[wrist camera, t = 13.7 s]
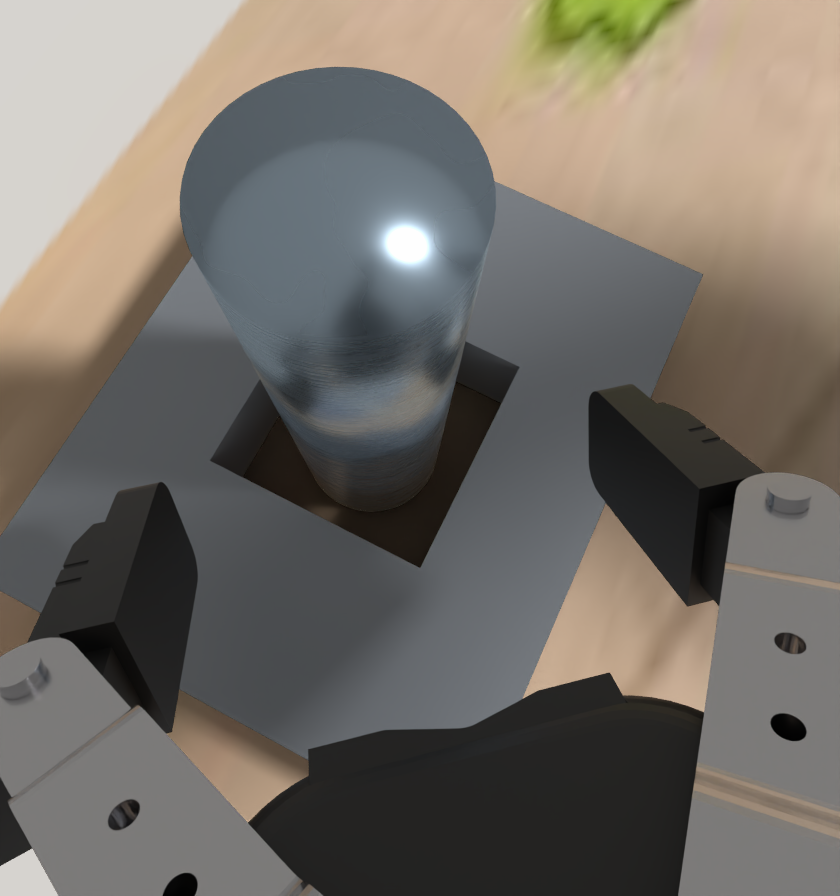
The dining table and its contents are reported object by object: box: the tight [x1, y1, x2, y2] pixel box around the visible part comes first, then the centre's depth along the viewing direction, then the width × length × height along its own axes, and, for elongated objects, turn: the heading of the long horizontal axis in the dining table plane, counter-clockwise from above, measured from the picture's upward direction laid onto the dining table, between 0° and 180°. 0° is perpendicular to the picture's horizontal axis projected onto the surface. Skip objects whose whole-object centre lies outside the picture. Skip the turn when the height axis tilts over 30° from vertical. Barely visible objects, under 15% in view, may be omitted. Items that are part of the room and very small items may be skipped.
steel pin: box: [180, 67, 496, 512], centre depth 14 cm, size 4×4×12 cm
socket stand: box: [0, 181, 703, 760], centre depth 18 cm, size 16×13×3 cm
